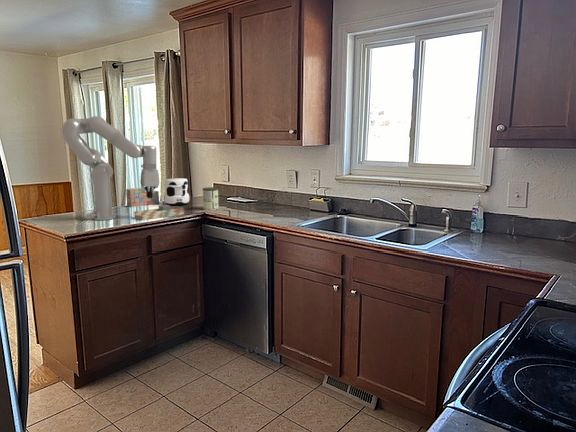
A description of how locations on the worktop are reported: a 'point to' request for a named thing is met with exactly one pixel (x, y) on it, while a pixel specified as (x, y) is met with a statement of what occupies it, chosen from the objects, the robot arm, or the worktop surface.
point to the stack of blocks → (140, 197)
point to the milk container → (176, 191)
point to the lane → (158, 213)
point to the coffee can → (210, 198)
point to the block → (164, 207)
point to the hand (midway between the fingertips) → (149, 197)
